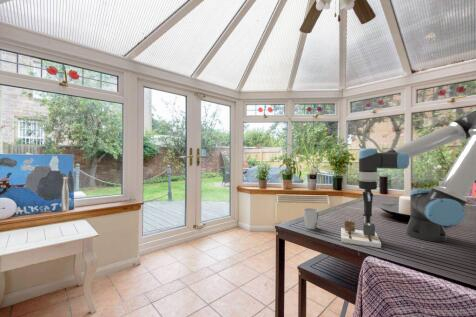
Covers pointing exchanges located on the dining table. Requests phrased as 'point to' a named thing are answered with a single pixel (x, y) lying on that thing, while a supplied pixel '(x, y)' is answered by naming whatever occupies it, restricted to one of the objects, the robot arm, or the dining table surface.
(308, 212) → the cup
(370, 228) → the fader
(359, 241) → the white flat slab
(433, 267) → the dining table surface
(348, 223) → the fader
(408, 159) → the robot arm
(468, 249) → the dining table surface
